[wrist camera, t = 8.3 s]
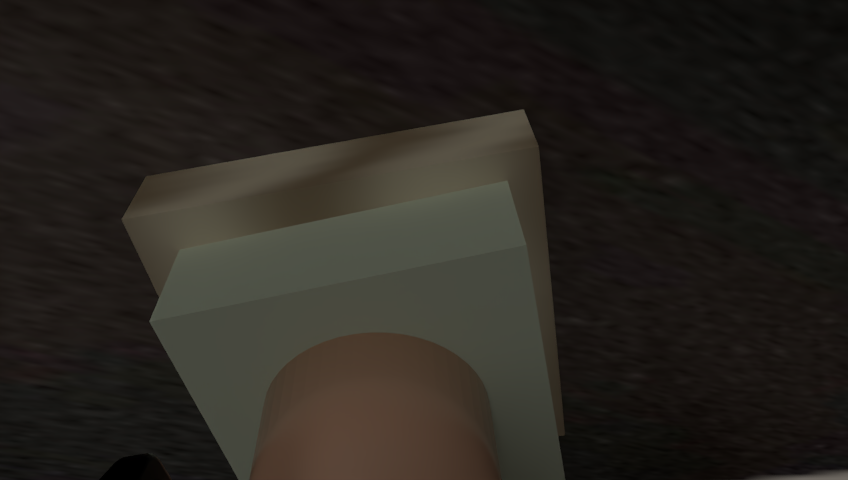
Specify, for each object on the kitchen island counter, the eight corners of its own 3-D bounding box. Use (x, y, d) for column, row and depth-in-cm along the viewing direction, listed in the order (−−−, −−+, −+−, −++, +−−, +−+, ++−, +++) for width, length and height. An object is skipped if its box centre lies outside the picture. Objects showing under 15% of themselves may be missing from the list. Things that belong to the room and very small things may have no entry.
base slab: (519, 99, 21) (538, 146, 18) (548, 372, 27) (565, 435, 24) (152, 165, 21) (121, 219, 19) (261, 417, 27) (249, 483, 25)
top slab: (507, 180, 19) (526, 244, 16) (547, 413, 24) (566, 490, 21) (179, 249, 19) (149, 321, 17) (285, 462, 24) (273, 542, 22)
